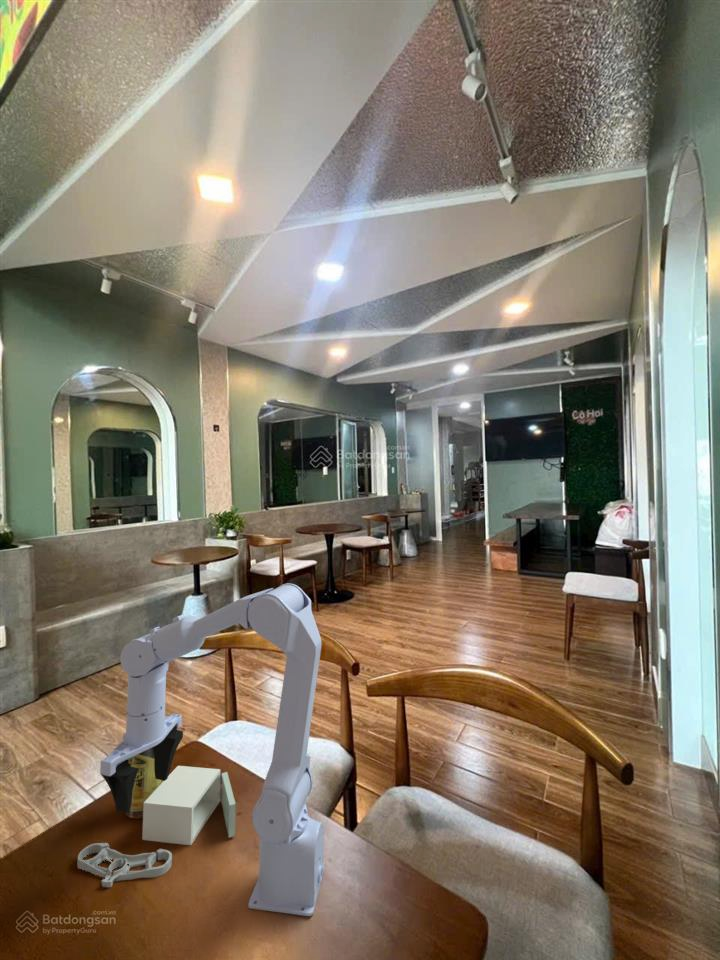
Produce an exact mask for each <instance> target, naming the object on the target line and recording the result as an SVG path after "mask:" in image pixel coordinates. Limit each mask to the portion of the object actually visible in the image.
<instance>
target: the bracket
mask: <svg viewBox="0 0 720 960" xmlns="http://www.w3.org/2000/svg"><path fill="white" fill-rule="evenodd" d="M92 853H93V854H96V855H95V856H93V857H92V858H89V859H85V858H87V857H88V856H90V855H93V854H92ZM89 854H90V855H89ZM87 855H88V856H87ZM84 857H85V858H84ZM83 858H84V859H83ZM110 859H111V860H112V859H114V861H113V862H112V861H111V860H110ZM105 860H106V861H105ZM161 860H163V861H164V860H165V861H166V862H164V864H161V865H159V866H156V867H155V866H153V865H154V864H155V863H156V862H157V861H161ZM102 861H104V862H107V861H109V862H111V864H110V863H109V862H108V863H109V866H108V867H107V868H106V867H104V866H103V867H102V866H101V863H103V862H102ZM98 864H99V865H98ZM127 864H129V865H127ZM172 864H173V853H172V852H171V851H169V850H167V849H163V848H159V849H157V850H156V851H153V852H142V853H139V854H134V855H133V854H131V855H130V854H123V853H122V852H120V851H117V850H116V849H112V848H110V845H109V843H108V842H97V843H95V842H94V843H91V844H89V845H87V846H86V847H84V848H83V849H82V850H80V852H79V853H78V854H77V864H76V865H77V866H76V867H77V869H79V870H81V869H82V871H84V870H85V871H84V872H89V873H90V874H93V875H94V874H95V875H94V876H96V875H99V876H100V877H99V878H101V876H102V877H104V878H105V879H104V878H103V879H102V880H100V882H101V886H102V888H112V887H113V884H114V882H119V881H127V880H128V881H130V880H135V879H136V880H137V879H141V878H142V879H143V878H147V879H148V878H158V877H162V876H163V875H165V874H166V873H168V871H169V870H170V869H171V868H172ZM140 866H145V867H144V868H143V869H142V870H130V869H131V868H135V867H140ZM117 867H119V869H118V868H117ZM115 868H116V869H115ZM113 869H115V870H113ZM112 870H113V871H112Z"/></svg>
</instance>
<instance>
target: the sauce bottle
mask: <svg viewBox="0 0 720 960" xmlns="http://www.w3.org/2000/svg"><path fill="white" fill-rule="evenodd" d="M130 763H131V767H135V768H139V770H138V772H137V775H136V778H135V781H134V785H133V791H132V803H131V808H130V811H129V812H127V813H126V816H127V817H128V818H131V819H137V820H140V819H143V807H144V802H145V801H146V800H147V799H148V798H149V797H150V795H151V794H152V793H153V792H154V791H155V790H156V789H157V788H158V787H159V786H160V785H161V783H162V782H163V780H159V779H156V778H155V769H154V751H153V747H152V748H150V749H148V750H146V751H143V752H141V753H139V754H137V755H135V756H134V757H133V758H131V759H130V760H129V764H130Z"/></svg>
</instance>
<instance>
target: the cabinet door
mask: <svg viewBox="0 0 720 960" xmlns="http://www.w3.org/2000/svg"><path fill="white" fill-rule="evenodd" d="M228 773H229V772H228V771H222V772H220V803H221V807H222V808H221V809H222V812H223V816H224V821H225V826H226V831H227V835H228V838H232V837H235V836H236V800H235V797H234V796H235V795H234V793H233V788H232V785H231V781H230V777H229V774H228Z"/></svg>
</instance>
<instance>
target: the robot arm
mask: <svg viewBox="0 0 720 960" xmlns="http://www.w3.org/2000/svg"><path fill="white" fill-rule="evenodd" d="M171 621H172V622H171V623H169V624H167V625H164V626H163V627H161V628H160V626H157V627H154V628H152V629H150V631H149V633H148V634H146V635H143V636H140V637H138V638H134V639H131V640H130V641H129V642H128V643H127V644H125V645H124V647H123V648H122V649H121V652H120V657H119V659H120V665H121V667H122V670H123V671H124V672H125V674H127V696H126V699H127V700H126V725H125V727H126V728H125V732H124V733H123V735H122V739H123V740H122V741H121V742H120V743H118V745H116V747H115V748H114V749H113V751H111V752H110V753H109V754H108V755H107V756H106V757H104V758H102V759H101V760H100V767H99V768H100V770H99V771H100V772H99V774H100V775H101V777H102V778H103V779H104V781H105V782H106V784H107V786H108V787H109V790H110V792H111V795H112V797H113V801H114V806H115V809H116V812H118V813H122V814H126V813H127V812H129V811H130V808H131V803H132V791H133V785H134V781H135V778H136V775H137V772H138V770H139V768H135V767H131V763H130V764H129V760H130V759H131V758H133V757H134V756H135V755H137V754H139V753H141V752H143V751H146V750H148V749H150V748H152V747H153V751H154V769H155V778H156V779H159V780H163V781H165V780H167V778H168V776H169V775H170V771H171V767H172V764H173V761H174V757H175V754H176V751H177V749H178V747H179V745H180V743H181V741H182V740H183V737H184V732H183V730H180V729H179V728H181V727H182V725H183V715H182V714H178V713H173V714H170V715H169V716H166V696H167V695H166V691H167V688H166V687H167V686H166V685H167V672H168V671H169V664H170V662H172V661H174V660H176V659H178V658H181V657H183V656H185V655H187V654H191V653H192V652H194V651H197V650H199V649H200V648H201V647H202V646H203V644H204V643H205V641H206V637H208V636H211V635H213V634H216V633H218V632H220V631H223V630H225V629H228V628H230V627H232V626H235V625H238V624H239V625H241V626H242V628H244V629H245V630H249V629H250V628H251V629H253V631H254V632H255V633H256V634H257V635H259V636H260V637H261V638H262V639H265V640H266V641H268V642H269V643H271V644H272V645H274V647H276V648H278V649H280V650H281V651H282V652H283V653H284V655H285V656H286V661H285V666H284V667H285V669H284V675H283V682H282V689H281V693H280V694H281V695H280V703H279V710H278V716H277V722H276V723H277V724H276V731H275V738H274V745H273V751H272V752H273V753H272V757H271V758H272V759H271V763H270V765H269V768H268V771H267V773H266V777H265V779H264V782H263V785H262V789H261V790H262V791H261V795H260V797H259V799H258V800H257V802H256V804H255V805H254V807H253V810H252V816H251V817H252V825H253V828H254V830H255V833H257V835H258V836H259V855H258V856H259V859H258V860H259V861H258V862H259V863H258V864H259V865H258V868H259V870H258V878H257V882H256V883H255V886H254V888H253V890H252V894H251V896H250V898H249V900H248V902H247V903H248V905H247V906H248V908H249V909H252V910H260V911H269V912H275V913H282V914H283V913H284V914H291V915H298V916H306V917H312V915H313V914H314V911H315V906H316V903H317V899H318V897H319V895H318V894H319V892H320V887H321V883H322V880H323V874H324V871H325V863H324V845H325V844H324V836H325V835H324V824H323V823H322V822H320V821H318V820H315V819H313V818H312V817H310V816H309V814H308V808H307V798H308V796H309V795H310V794H311V791H312V788H313V784H314V781H313V775H312V770H311V766H310V764H311V756H310V754H309V753H307V752H308V746H309V738H310V730H311V725H312V724H311V723H312V718H313V711H314V703H315V696H316V687H317V681H318V674H319V673H318V672H319V668H320V666H319V665H320V659H321V651H322V644H323V643H322V637H321V635H320V632H319V628H318V626H317V623H316V620H315V617H314V613H313V611H312V600H311V598H310V597H309V596H308V595H307V594H306V593H305V591H304V590H303V589H302V588H301V587H299V585H296V584H294V583H290V582H289V583H284V584H281V585H278V587H276V588H274V587H271V588H267V589H264V590H262V591H258V592H255V593H252V594H249V595H246V596H243V597H242V598H239V599H237V600H234V601H232V602H231V603H229V604H226V605H224V606H223V607H221V608H219V609H217V610H215V611H213V612H211V613H208V614H207V615H204V616H203V617H200V618H199V617H197V616H195V615H186V616H185V615H184V614H181V615H177V616H175V617H174V618H172V620H171Z"/></svg>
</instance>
